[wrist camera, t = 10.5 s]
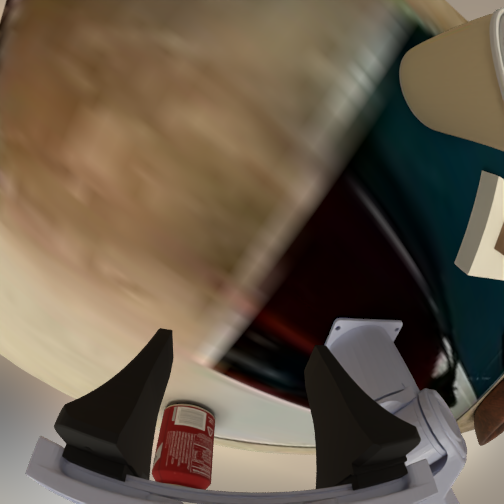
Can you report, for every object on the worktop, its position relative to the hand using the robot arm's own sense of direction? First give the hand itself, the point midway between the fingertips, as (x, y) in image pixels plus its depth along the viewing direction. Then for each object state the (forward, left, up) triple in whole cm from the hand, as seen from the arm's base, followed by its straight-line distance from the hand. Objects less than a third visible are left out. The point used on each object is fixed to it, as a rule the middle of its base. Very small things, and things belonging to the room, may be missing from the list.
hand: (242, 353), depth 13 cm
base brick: (+8, -26, -10) cm, 29 cm away
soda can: (-23, +4, -10) cm, 25 cm away
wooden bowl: (-29, -72, -10) cm, 78 cm away
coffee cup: (+18, -13, -10) cm, 24 cm away
